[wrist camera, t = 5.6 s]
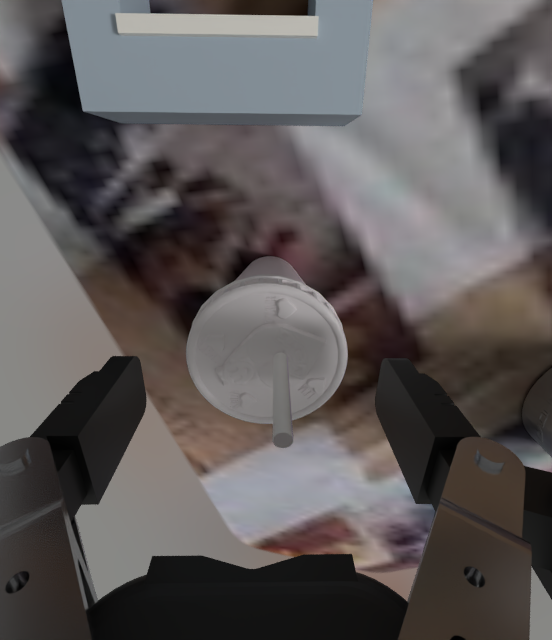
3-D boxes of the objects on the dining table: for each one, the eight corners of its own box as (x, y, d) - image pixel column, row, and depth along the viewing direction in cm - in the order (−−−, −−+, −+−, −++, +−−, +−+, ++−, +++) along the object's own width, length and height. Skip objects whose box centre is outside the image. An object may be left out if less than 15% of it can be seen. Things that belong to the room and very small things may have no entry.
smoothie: (331, 309, 22) (407, 492, 10) (244, 341, 23) (208, 545, 11) (299, 217, 20) (343, 300, 7) (203, 257, 21) (93, 390, 8)
